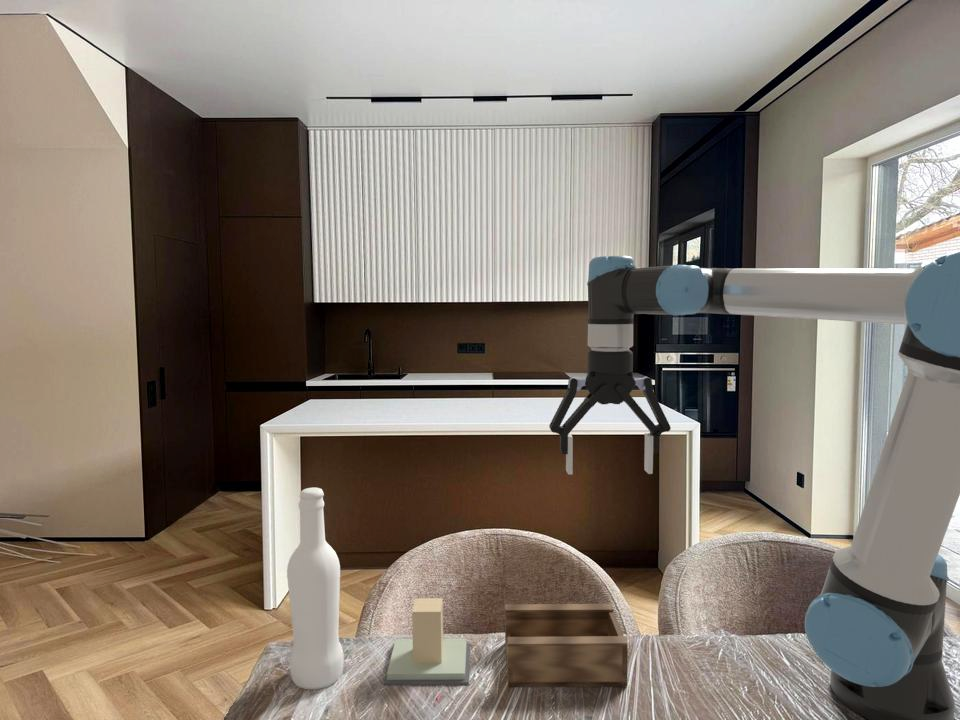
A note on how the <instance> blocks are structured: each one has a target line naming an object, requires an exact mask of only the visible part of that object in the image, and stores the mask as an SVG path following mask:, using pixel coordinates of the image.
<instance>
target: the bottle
mask: <svg viewBox="0 0 960 720" xmlns="http://www.w3.org/2000/svg"><path fill="white" fill-rule="evenodd" d="M324 496H325V493H324V491H323V489H322V488H320V487H307V488H304V489H302V490H301V491H300V494H299V498H300V500H299V502H298V509H299V544H298V546H297V548H295V550H294V551H293V553H292V555H291V556H290V557H289V559H288V563H287V568H286V578H287V586H288V596H289V607H290V614H291V615H290V617H291V625H292V626H291V627H292V635H293V646H292V651H291V654H290V657H289V669H290V670H289V671H290V676H291V681H293V683H294V684H295V686H297V687H298V688H301V689H303V690H319V689H324V688H326V687H329V686H331V685H333V684H334V683H336V682H337V681H338V680H339V679H340V677H341V676H342V674H343V669H344V664H345V663H344V661H345V660H344V657H345V656H344V651H343V647H342V644H341V642H340V638H339V637H340V636H339V621H340V619H339V618H340V616H339V615H340V595H341V594H340V592H341V591H340V590H341V589H340V588H341V565H340V564H341V563H340V559H339V557H338V555H337V552H336V550H334V549H333V547H332V546H331V545H330V544H329V543H328V542H327V540H326V533H325V531H326V530H325V514H324V507H325V501H324Z"/></svg>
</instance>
